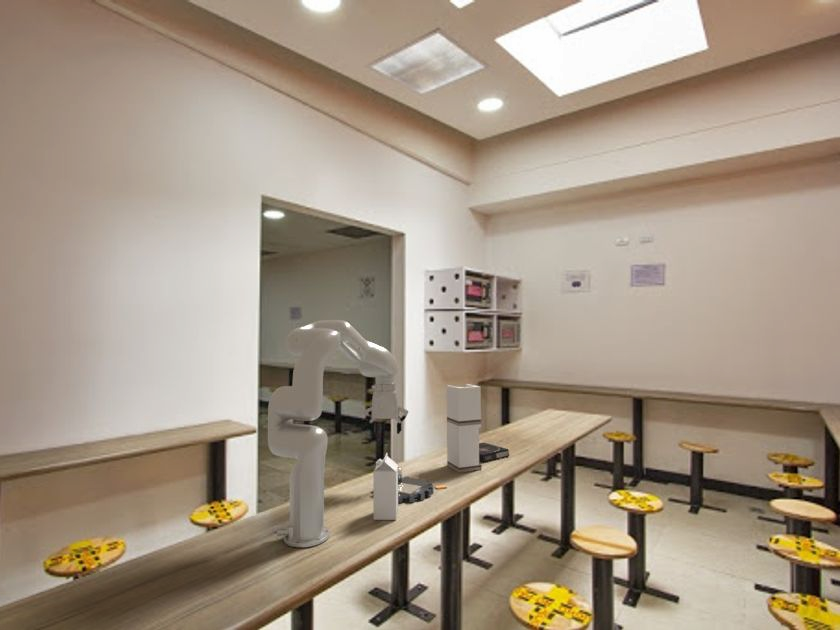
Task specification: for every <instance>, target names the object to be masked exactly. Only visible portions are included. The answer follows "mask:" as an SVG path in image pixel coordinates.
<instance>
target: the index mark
mask: <svg viewBox="0 0 840 630" xmlns="http://www.w3.org/2000/svg"><path fill="white" fill-rule="evenodd" d="M434 488H435V490H442V489H443V488H444V489H447V488H448V487H447V485H445V484H442V485H434ZM444 489H443V490H444Z"/></svg>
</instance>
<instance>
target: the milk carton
mask: <svg viewBox="0 0 840 630" xmlns="http://www.w3.org/2000/svg"><path fill="white" fill-rule="evenodd" d="M375 464H376V465H375V467H374V469H373V472H372V473H373V478H372V480H373V488H372V489H373V520H374V521H397V518H398V515H399V502H398V467H399V464H397V462H395V461H394V460H393V459H391V458H390V456H388V452H386V454H385V456H384V458H383V459H381V458H379V459H377V461H376V462H375Z"/></svg>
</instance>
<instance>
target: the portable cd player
mask: <svg viewBox="0 0 840 630" xmlns="http://www.w3.org/2000/svg"><path fill="white" fill-rule="evenodd" d="M508 456H509V457H510V452H509V449H508V448H505V447H503V446H498V445H494V444H491V443H487V442H479V461H480V462H479V463H482V462H483V463H482V464H484V462H485V463H489V462H488V461H490V462H492V460H494V461H497V460H496V459H498V460H501V459H500V458H502V459H505V458H504V457H506V458H509V457H508Z"/></svg>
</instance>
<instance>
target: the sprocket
mask: <svg viewBox="0 0 840 630" xmlns="http://www.w3.org/2000/svg"><path fill="white" fill-rule="evenodd" d="M402 473H403V472H402V467H399V466H398V503H401V504H402V503H403V502H408V503H413V502H415V501H416V500H420V501H422V500H425V499H426V497H427V498H430V497H431V496H432V494H434V485H433V482H431V481H428V479H427V478H426V479H425V478H424V479H421V478H420V477H418V476H414V477H410V476H406V475H405V476H404V477H403V476H402V475H403V474H402Z"/></svg>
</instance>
